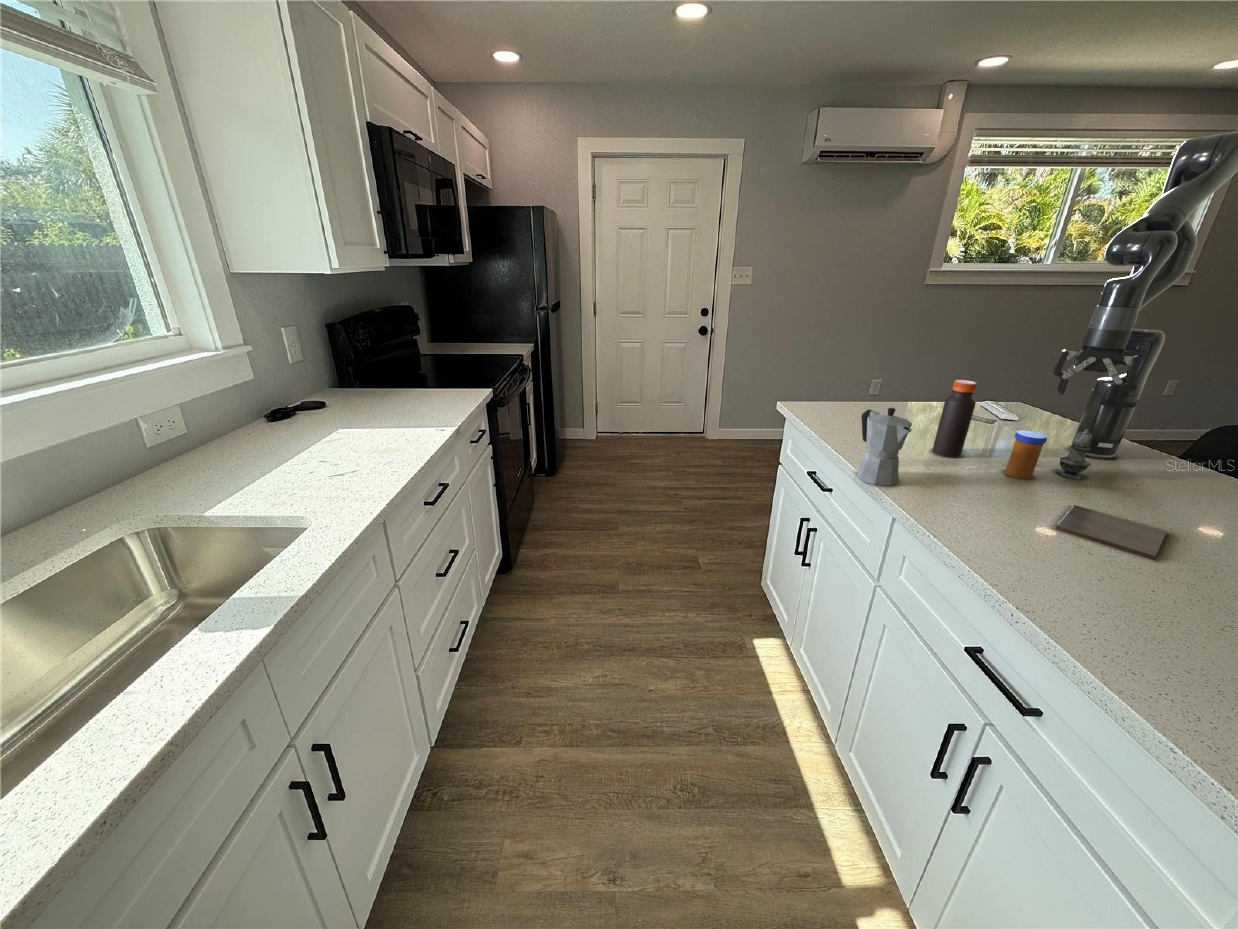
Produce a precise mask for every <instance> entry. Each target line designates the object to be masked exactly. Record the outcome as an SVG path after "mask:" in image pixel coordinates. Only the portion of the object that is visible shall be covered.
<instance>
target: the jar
mask: <svg viewBox="0 0 1238 929" xmlns="http://www.w3.org/2000/svg"><path fill="white" fill-rule="evenodd" d="M1043 447H1044V444H1031V443H1025V442H1022V441H1019V440H1017V439H1015V438H1014V442H1013V446H1012V448H1011V451H1010V454H1009V458H1008V460H1007V464H1006V467H1005V470H1004V473H1005V475H1007V476H1009V477H1011V478H1014V479H1019V480H1031V479H1032V478H1033V475H1034V472H1035V470H1036V466H1037V464H1038V462H1039V458H1040V456H1041V452H1042V450H1043Z"/></svg>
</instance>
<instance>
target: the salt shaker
mask: <svg viewBox="0 0 1238 929" xmlns="http://www.w3.org/2000/svg"><path fill="white" fill-rule="evenodd" d="M1091 440H1092V435H1091V434H1090V433H1088V429H1086V430H1085V432H1080V433H1078V434H1077V436H1076V438H1075V441H1074V443H1073V444H1072V443H1071V444H1072V445H1071V444H1070V445H1071V447H1072V448H1071V450H1070V449H1069V450H1070V451H1069V453H1068V454H1067V456H1060V457H1059V458H1058V459H1059V466H1060V467H1061V469H1057V470H1056V471H1055V473H1056V474H1057V475H1058V476H1061V477H1065V478H1068V479H1074V480H1081V479H1082V480H1083V479H1084V477H1085V476H1084V475H1083V474H1082V472H1085V471H1086V470H1087V469H1088V467H1090V466H1091V465H1092V464H1091V463H1090V462H1089V461H1087V460H1086V457H1087V456H1086V454H1087V451H1088V450H1089V449H1090V448H1089V445H1090V442H1091Z"/></svg>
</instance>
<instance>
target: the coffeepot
mask: <svg viewBox="0 0 1238 929" xmlns="http://www.w3.org/2000/svg"><path fill="white" fill-rule="evenodd" d="M896 411H897V409H896V408H894V407H888V408H887V414H880V412H878V411H876V410H875V411H874V410H872V409H871V408H870V409H866V410H865V411H864V412H862V413H861V418H860V420H861V435H862V442H864V443H866V445H867V450H866V451H864V453H863V456H862V459H861V461H860V464H859V465H858V468H857V470H856V472H855V473H856V476H857V478H858V479H859V480H860V481H862V482H864V483H867V484H871V485H874V486H881V487H889V486H893V485H896V483H898V482H899V467H900V464H899V462H900V458H899V452H900V450H902V449H903V446H904V444H905V442H906V439H907V437H908V435H909V433H912V431H913V429H912V425H913V423H912V422H911V421H910V420H909V419H907V418H905V417H901V416H897V415H895V412H896Z"/></svg>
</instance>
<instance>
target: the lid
mask: <svg viewBox="0 0 1238 929" xmlns="http://www.w3.org/2000/svg"><path fill="white" fill-rule="evenodd" d="M1015 439H1017V440H1019V441H1022V442H1025V443H1031V444H1043V445H1045V444H1046V443H1047V440H1048V436H1047V435H1046V434H1045V433H1042V432H1038V431H1035V430H1026V429H1024V430H1023V429H1022V430H1021V429H1020V430H1017V431H1016V433H1015V434H1014V440H1015Z"/></svg>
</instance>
